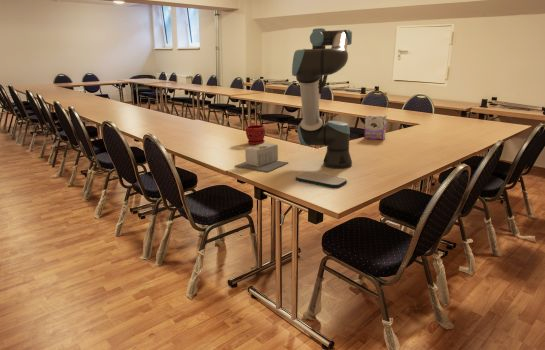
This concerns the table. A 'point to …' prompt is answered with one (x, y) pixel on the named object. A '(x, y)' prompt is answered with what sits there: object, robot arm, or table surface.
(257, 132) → the plant pot
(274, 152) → the supplement box
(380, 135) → the candy box
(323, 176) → the external hard drive
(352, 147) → the table surface
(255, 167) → the grey rubber mat
